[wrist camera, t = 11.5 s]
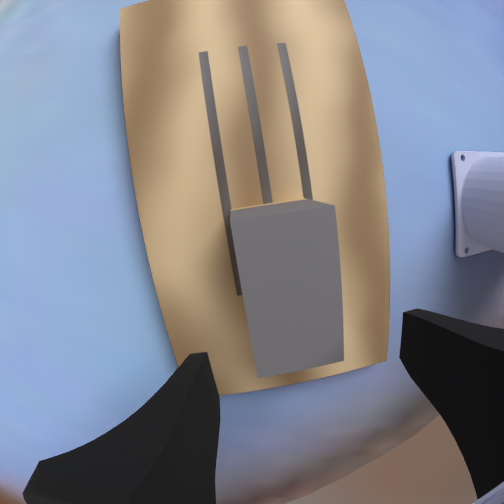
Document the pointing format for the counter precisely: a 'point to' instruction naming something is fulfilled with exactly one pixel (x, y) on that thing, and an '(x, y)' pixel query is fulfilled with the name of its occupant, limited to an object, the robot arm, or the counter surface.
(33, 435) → the counter surface
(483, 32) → the counter surface
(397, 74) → the counter surface
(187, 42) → the board
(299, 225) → the block
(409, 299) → the counter surface
